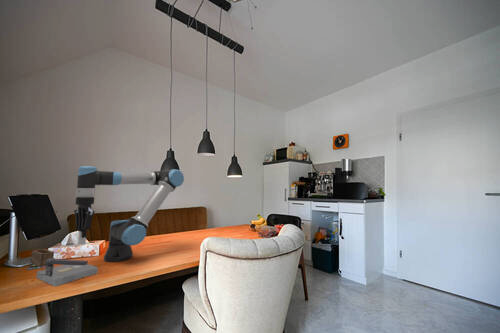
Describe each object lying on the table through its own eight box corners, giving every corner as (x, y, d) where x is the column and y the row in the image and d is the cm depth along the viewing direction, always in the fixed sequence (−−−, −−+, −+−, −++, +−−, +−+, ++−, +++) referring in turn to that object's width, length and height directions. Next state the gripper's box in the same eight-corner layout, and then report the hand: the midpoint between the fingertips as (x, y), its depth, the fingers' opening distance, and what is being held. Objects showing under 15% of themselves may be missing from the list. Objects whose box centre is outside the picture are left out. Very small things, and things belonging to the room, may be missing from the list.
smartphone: (25, 271, 110) (25, 268, 110) (36, 262, 123) (36, 260, 123) (46, 268, 114) (46, 266, 114) (54, 260, 127) (55, 258, 127)
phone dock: (42, 261, 123) (44, 248, 124) (52, 265, 118) (54, 251, 119) (30, 264, 119) (31, 250, 120) (39, 268, 113) (41, 254, 114)
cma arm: (43, 264, 97) (44, 260, 97) (50, 262, 100) (50, 258, 100) (82, 266, 96) (83, 261, 96) (88, 264, 99) (89, 259, 100)
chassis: (78, 267, 116) (79, 253, 117) (97, 273, 108) (98, 258, 109) (35, 278, 101) (37, 262, 101) (54, 286, 93) (56, 269, 93)
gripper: (69, 196, 109) (65, 244, 107) (84, 197, 104) (80, 247, 101) (85, 196, 116) (82, 240, 113) (101, 196, 110) (97, 243, 108)
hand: (81, 244), depth 107 cm, fingers closed
